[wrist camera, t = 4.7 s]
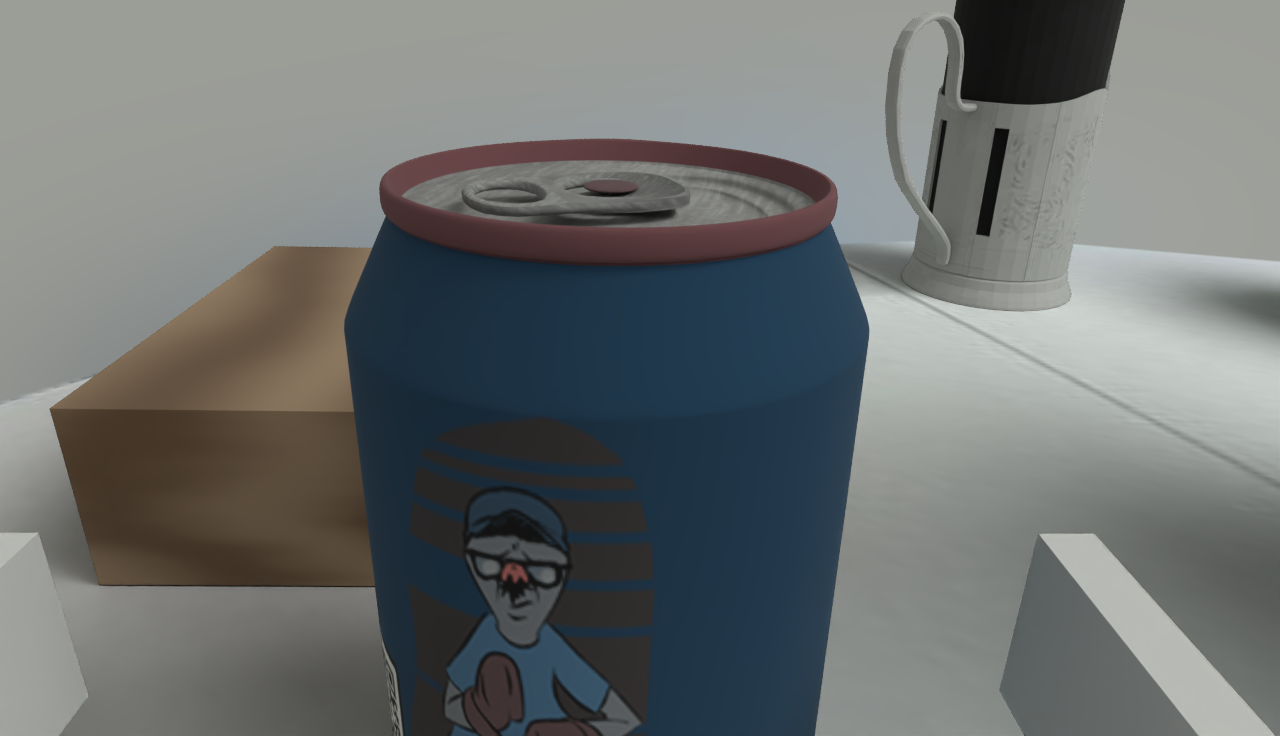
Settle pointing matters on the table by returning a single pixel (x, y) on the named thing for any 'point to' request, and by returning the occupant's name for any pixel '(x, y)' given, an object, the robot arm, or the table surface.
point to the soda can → (605, 438)
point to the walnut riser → (229, 437)
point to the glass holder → (1006, 148)
